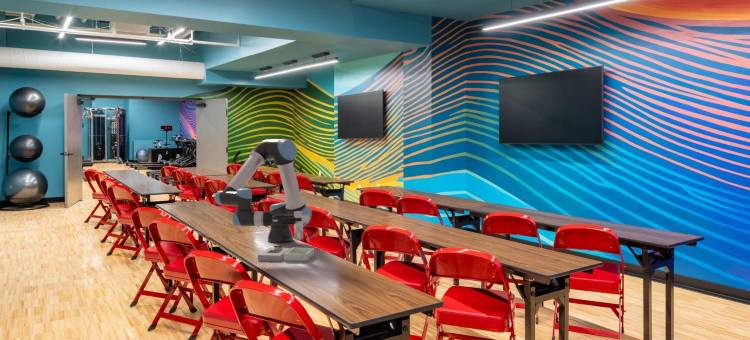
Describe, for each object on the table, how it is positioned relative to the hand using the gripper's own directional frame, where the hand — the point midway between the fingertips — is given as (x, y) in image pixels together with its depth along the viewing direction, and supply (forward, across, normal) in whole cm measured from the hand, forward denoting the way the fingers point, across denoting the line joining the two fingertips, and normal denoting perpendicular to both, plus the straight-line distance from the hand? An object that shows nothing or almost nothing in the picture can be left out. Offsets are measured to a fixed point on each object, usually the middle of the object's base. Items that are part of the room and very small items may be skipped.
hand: (308, 218), depth 254 cm
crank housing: (-19, -4, -21) cm, 29 cm away
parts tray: (-5, 0, -21) cm, 22 cm away
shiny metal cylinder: (-5, 0, -10) cm, 12 cm away
